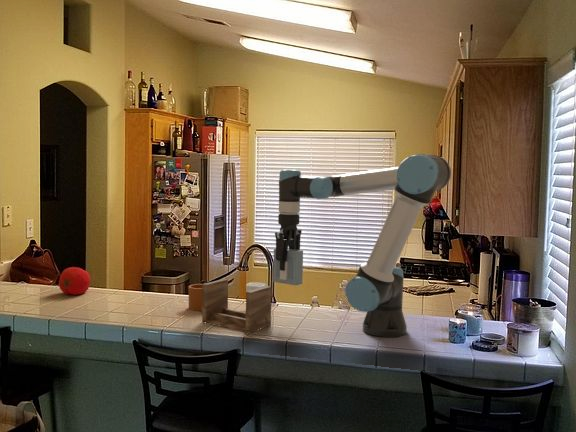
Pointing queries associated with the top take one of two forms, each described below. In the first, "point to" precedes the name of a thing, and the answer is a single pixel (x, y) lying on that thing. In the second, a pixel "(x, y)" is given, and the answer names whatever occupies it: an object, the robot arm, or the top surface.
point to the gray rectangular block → (290, 268)
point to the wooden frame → (244, 321)
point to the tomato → (74, 281)
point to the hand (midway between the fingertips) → (287, 278)
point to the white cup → (254, 285)
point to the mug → (195, 297)
